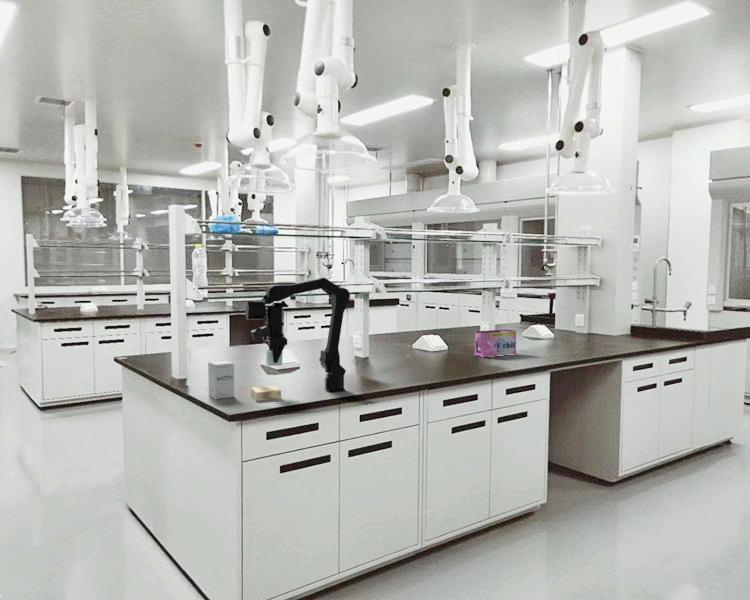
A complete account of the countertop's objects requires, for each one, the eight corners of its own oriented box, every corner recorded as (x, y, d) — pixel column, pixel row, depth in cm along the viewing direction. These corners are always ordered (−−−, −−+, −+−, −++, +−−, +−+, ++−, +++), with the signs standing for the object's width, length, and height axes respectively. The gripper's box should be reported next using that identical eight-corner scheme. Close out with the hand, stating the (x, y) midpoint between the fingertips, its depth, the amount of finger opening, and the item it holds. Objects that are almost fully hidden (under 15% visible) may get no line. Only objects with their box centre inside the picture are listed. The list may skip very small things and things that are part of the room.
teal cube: (279, 363, 207) (280, 349, 206) (282, 365, 202) (282, 351, 202) (266, 363, 205) (266, 350, 205) (268, 365, 200) (268, 352, 200)
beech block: (275, 394, 207) (275, 385, 207) (281, 400, 199) (280, 390, 199) (251, 396, 204) (251, 387, 203) (255, 402, 195) (255, 392, 195)
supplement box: (215, 399, 197) (214, 364, 197) (208, 396, 203) (207, 362, 203) (235, 397, 202) (234, 362, 201) (227, 393, 208) (227, 360, 207)
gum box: (481, 358, 290) (481, 332, 289) (472, 356, 297) (472, 331, 296) (516, 355, 301) (516, 330, 300) (506, 353, 308) (506, 329, 307)
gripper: (249, 317, 209) (249, 358, 210) (255, 321, 191) (255, 366, 192) (278, 317, 213) (278, 357, 213) (287, 321, 195) (287, 365, 196)
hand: (274, 361), depth 203 cm, fingers closed on teal cube, 5 cm apart
